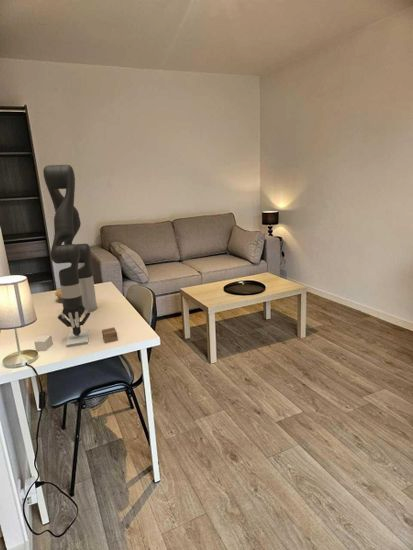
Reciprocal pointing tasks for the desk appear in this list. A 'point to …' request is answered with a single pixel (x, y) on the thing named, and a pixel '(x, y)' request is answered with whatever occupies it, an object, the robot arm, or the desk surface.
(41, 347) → the grey plastic block
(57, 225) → the robot arm
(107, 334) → the walnut block
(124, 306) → the desk surface
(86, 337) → the hard drive
